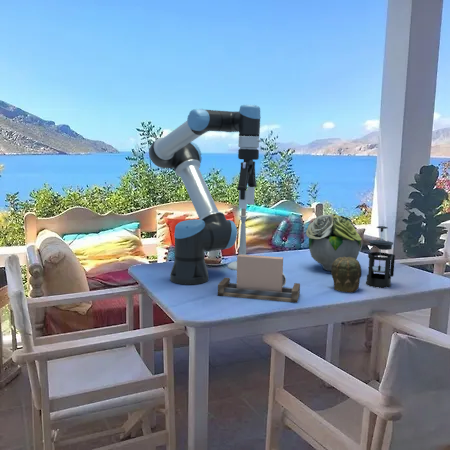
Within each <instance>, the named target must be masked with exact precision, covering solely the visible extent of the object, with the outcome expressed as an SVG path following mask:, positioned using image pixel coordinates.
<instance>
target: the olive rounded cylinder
mask: <svg viewBox="0 0 450 450" xmlns="http://www.w3.org/2000/svg"><path fill="white" fill-rule="evenodd" d="M361 267H362V266H361V264H360V261H359V260H358V259H355V258H351V257H347V258H346V257H343V258H342V257H340V258H337V259H336V260H335V261H334V262H333V264H332V269H331V271H330V273H331V278H332V280H333V288H334V291H338V292H341V293H342V292H343V293H355V292H356V291H358V289H359V287H360V280H361V277H362V268H361Z"/></svg>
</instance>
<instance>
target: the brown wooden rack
mask: <svg viewBox="0 0 450 450" xmlns="http://www.w3.org/2000/svg"><path fill="white" fill-rule="evenodd" d="M230 281H231V278H230V277H224V278H223V279H222V280H220V282H219V283H218V284H217V296H219V297H228V298H241V299H250V300H251V299H252V300H262V301H263V300H265V301H272V302H286V303H295V304H298V301H299V297H300V295H301V294H300V292H301V283H299V282H298V283H297V282H295V283H294V284H293V287H285V286H284V287H282V292H274V291H262V290H250V289H238V288H237V282H235V283H234V282H233V283H232V282H230Z"/></svg>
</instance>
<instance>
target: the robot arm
mask: <svg viewBox="0 0 450 450" xmlns="http://www.w3.org/2000/svg"><path fill="white" fill-rule="evenodd" d="M260 129H261V107H260V106H259V105H257V104H256V105H255V104H242V105H240V106H239V111H228V110H216V109H215V110H214V109H204V108H196V109H191V110H190V111H189V114H188V115H187V120H185V121H184V122H183V123H181V124H180V125H179V126H177V127H176V128H175V129H174V130H171V132H169V133H168V134H167V135H166V136H165V135H164V137H159V138H156V140H154V141H153V142H152V143H151V144H150V145H149V150H148V154H149V155H148V156H149V159H150V161H151V162H152V164H154V165H155V166H157V167H158V168H160V169H173V171H174V173H175V175H176V176H177V177H180V178H181V180H182V183H183V184H184V187H185V189H186V191H187V194H188V196H189V198H190V201H191V204H192V206H193V207H194V210H195V212H196V214H197V216H198V219H188V220H187V219H186V220H183V221H182V220H181V221H179V222H177V224H176V225H175V226H174V235H173V236H174V262H173V265H172V268H171V271H170V277H169V278H170V279H169V280H170V281H171V282H173V283H175V284H178V285H179V284H180V285H199V284H200V285H201V284H204V283H206V282H208V281H209V272H208V271H209V270H208V268H207V265H206V262H205V253H206V252H214V251H221V250H222V251H223V250H226V249H231V248H232V247H233V246H234V245H235V243H236V241H237V239H238V237H237V236H238V228H237V225H236V223H235V222H234V221H233V220H230V219H227V218H226V215H225V214H224V213H223V212H221V211H219V209H218V207H217V205H216V203H215V200H214V199H213V197H212V194H211V192H210V190H209V188H208V185H207V183H206V182H205V179H204V177H203V174H202V172H201V170H200V167H201V164H202V159H203V158H202V152H201V149H200V147H199V146H198V145H197V143H195V142H194V141H195V140H197V139H198V138H199V137H201V136H202V135H204V134H205V133H207V132H225V133H238V145H237V146H238V148H239V149H238V152H237V153H238V154H237V158H238V160H243V161H241V162H240V172H239V179H238V183H237V185H238V186H237V187H236V190H237V191H238V192H239V193H238V209H246V210H247V208H248V207H247V205H254V204H255V191H256V190H255V189H256V188H257V187H258V186H257V185H258V184H257V183H256V181H257V180H256V179H257V178H256V161H257V160H259V158H260V156H259V155H260V150H259V149H258V148H259V147H260V143H261V142H262V140H261V139H260V133H261V132H260V131H261V130H260ZM255 160H256V161H255Z"/></svg>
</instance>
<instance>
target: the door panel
mask: <svg viewBox="0 0 450 450" xmlns="http://www.w3.org/2000/svg"><path fill="white" fill-rule="evenodd" d="M236 261H237V271H236V284H237V288H238V289H250V290H262V291H274V292H282V280H283V273H284V257H283V256H267V255H253V254H251V255H250V254H246V255H241V254H239V253H238V255H237V256H236Z"/></svg>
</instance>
